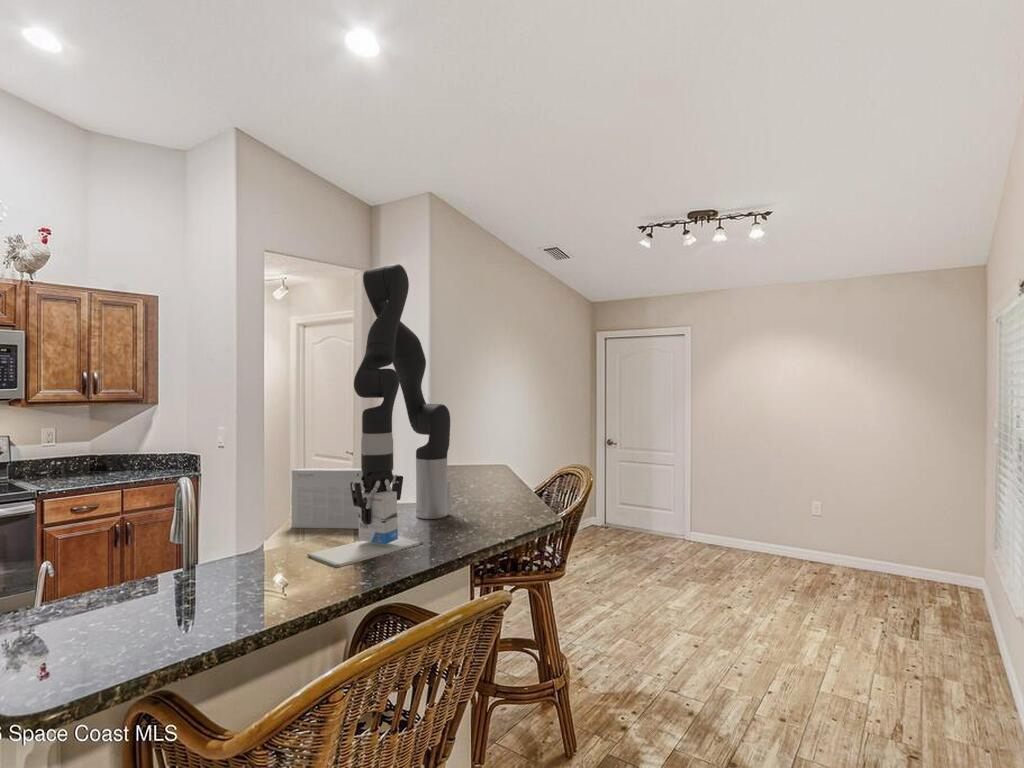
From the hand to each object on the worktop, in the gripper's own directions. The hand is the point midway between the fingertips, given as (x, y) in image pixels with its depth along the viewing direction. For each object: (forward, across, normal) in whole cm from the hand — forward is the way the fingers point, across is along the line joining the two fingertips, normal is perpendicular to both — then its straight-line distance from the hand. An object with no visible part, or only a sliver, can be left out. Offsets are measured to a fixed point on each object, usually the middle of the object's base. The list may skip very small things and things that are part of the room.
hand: (377, 521), depth 139 cm
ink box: (+5, 0, 0) cm, 5 cm away
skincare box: (+7, -4, -27) cm, 28 cm away
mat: (+6, +3, 0) cm, 7 cm away
